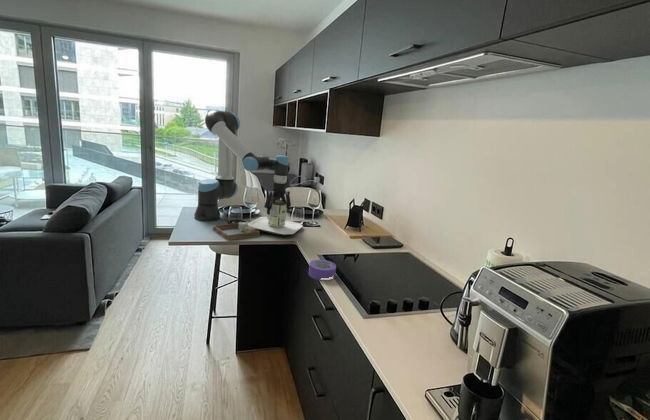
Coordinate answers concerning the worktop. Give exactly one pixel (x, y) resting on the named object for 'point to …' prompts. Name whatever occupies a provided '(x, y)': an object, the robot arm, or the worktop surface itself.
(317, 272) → the tape roll
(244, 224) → the box
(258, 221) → the plate
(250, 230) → the box
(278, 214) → the coffee can
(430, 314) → the worktop surface
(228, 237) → the brown wooden frame
